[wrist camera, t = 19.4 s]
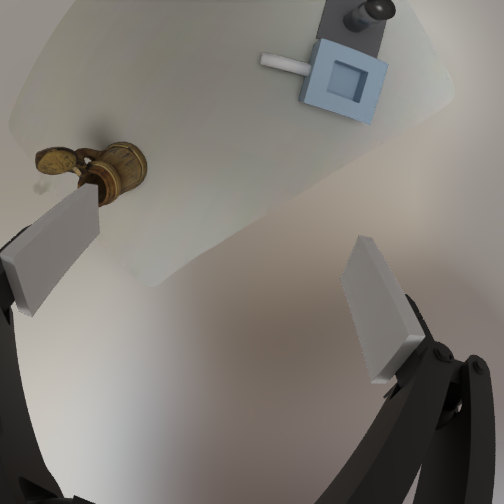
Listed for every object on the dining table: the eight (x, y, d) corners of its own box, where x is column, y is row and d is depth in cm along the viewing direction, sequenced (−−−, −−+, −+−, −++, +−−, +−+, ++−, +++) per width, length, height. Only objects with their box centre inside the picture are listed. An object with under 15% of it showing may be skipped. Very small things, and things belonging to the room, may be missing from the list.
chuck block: (269, 31, 34) (270, 24, 29) (373, 65, 36) (388, 64, 31) (254, 89, 40) (252, 89, 35) (357, 119, 41) (369, 125, 36)
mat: (329, -12, 29) (330, -13, 29) (387, 11, 30) (388, 11, 30) (315, 38, 34) (316, 37, 34) (375, 60, 35) (376, 60, 35)
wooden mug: (118, 111, 41) (54, 132, 26) (155, 175, 48) (109, 222, 32) (83, 138, 44) (19, 171, 28) (119, 197, 50) (69, 248, 35)
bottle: (340, 27, 33) (365, 11, 23) (345, 9, 31) (370, -11, 21) (362, 35, 33) (392, 23, 23) (366, 17, 31) (397, 2, 21)
